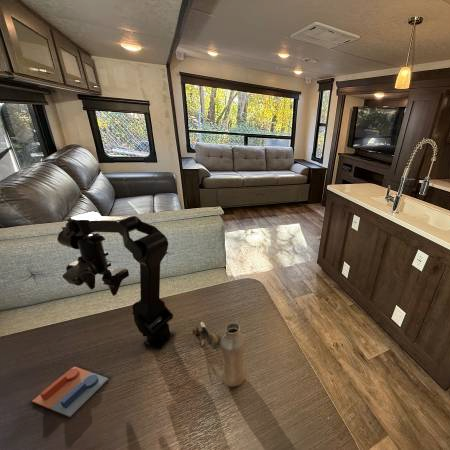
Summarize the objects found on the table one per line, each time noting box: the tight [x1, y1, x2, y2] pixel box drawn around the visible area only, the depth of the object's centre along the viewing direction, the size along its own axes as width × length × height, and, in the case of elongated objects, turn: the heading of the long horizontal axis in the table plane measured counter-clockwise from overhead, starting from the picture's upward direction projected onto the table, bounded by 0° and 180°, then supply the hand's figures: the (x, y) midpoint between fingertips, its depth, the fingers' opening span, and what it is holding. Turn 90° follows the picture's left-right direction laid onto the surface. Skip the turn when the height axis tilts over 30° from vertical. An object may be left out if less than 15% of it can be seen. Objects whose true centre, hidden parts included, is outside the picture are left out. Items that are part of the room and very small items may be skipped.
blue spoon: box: [60, 374, 98, 408], centre depth 65 cm, size 8×3×2 cm, turn 166°
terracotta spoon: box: [39, 368, 80, 400], centre depth 66 cm, size 8×3×2 cm, turn 166°
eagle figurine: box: [187, 321, 221, 348], centre depth 82 cm, size 8×7×9 cm
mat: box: [31, 365, 109, 418], centre depth 66 cm, size 12×10×1 cm
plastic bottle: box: [219, 322, 247, 388], centre depth 68 cm, size 6×7×20 cm
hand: (103, 291), depth 84 cm, fingers open, 9 cm apart
